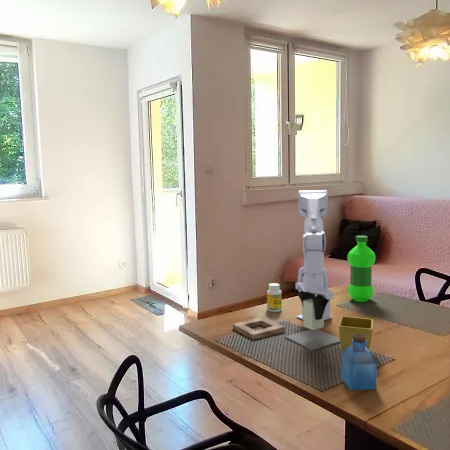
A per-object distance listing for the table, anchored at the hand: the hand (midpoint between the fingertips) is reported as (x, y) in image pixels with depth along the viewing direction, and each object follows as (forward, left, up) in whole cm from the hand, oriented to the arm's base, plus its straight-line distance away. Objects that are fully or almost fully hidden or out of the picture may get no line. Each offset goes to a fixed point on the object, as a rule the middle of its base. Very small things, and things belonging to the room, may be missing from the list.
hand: (313, 317), depth 137 cm
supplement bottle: (-8, -30, -7) cm, 32 cm away
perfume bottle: (+10, +27, -7) cm, 30 cm away
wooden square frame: (+9, -16, -7) cm, 20 cm away
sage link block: (0, 0, -3) cm, 3 cm away
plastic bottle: (-43, -21, -7) cm, 48 cm away
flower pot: (-3, +14, -7) cm, 16 cm away
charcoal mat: (0, 0, -7) cm, 7 cm away
